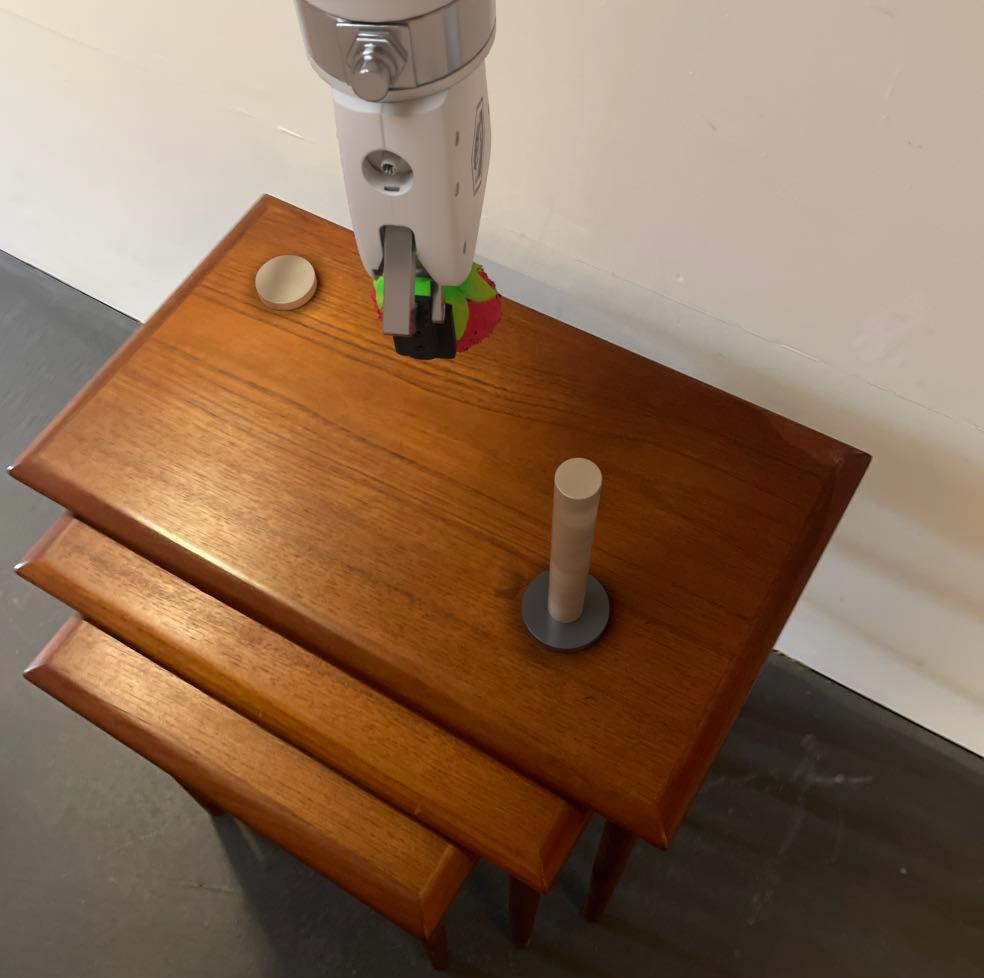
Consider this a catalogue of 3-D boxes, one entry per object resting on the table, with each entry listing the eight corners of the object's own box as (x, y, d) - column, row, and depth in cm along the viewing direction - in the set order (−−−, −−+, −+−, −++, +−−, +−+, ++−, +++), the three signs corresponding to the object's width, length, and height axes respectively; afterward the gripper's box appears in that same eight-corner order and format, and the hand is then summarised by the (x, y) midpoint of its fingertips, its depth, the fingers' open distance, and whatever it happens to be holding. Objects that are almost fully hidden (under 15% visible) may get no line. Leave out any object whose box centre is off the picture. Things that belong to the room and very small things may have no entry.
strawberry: (465, 417, 55) (451, 310, 46) (364, 356, 58) (332, 242, 49) (523, 346, 57) (521, 229, 48) (424, 289, 59) (403, 167, 50)
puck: (322, 264, 82) (320, 256, 81) (310, 312, 80) (308, 305, 79) (265, 260, 82) (262, 252, 81) (252, 308, 80) (249, 301, 79)
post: (611, 576, 68) (642, 431, 50) (605, 658, 66) (634, 537, 48) (526, 567, 69) (525, 422, 51) (516, 648, 67) (512, 525, 48)
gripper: (462, 178, 33) (484, 444, 49) (520, -146, 39) (523, 182, 56) (248, 167, 34) (340, 431, 50) (341, -147, 40) (395, 176, 57)
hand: (436, 298), depth 53 cm, fingers closed on strawberry, 6 cm apart
